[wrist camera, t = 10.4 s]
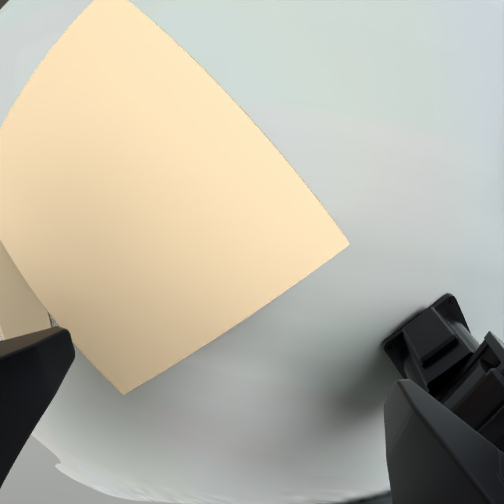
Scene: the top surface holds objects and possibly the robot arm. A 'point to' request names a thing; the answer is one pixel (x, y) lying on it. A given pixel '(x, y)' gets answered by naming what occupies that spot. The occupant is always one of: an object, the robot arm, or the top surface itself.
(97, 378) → the top surface
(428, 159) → the top surface
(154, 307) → the carton
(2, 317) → the carton flap
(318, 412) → the top surface
